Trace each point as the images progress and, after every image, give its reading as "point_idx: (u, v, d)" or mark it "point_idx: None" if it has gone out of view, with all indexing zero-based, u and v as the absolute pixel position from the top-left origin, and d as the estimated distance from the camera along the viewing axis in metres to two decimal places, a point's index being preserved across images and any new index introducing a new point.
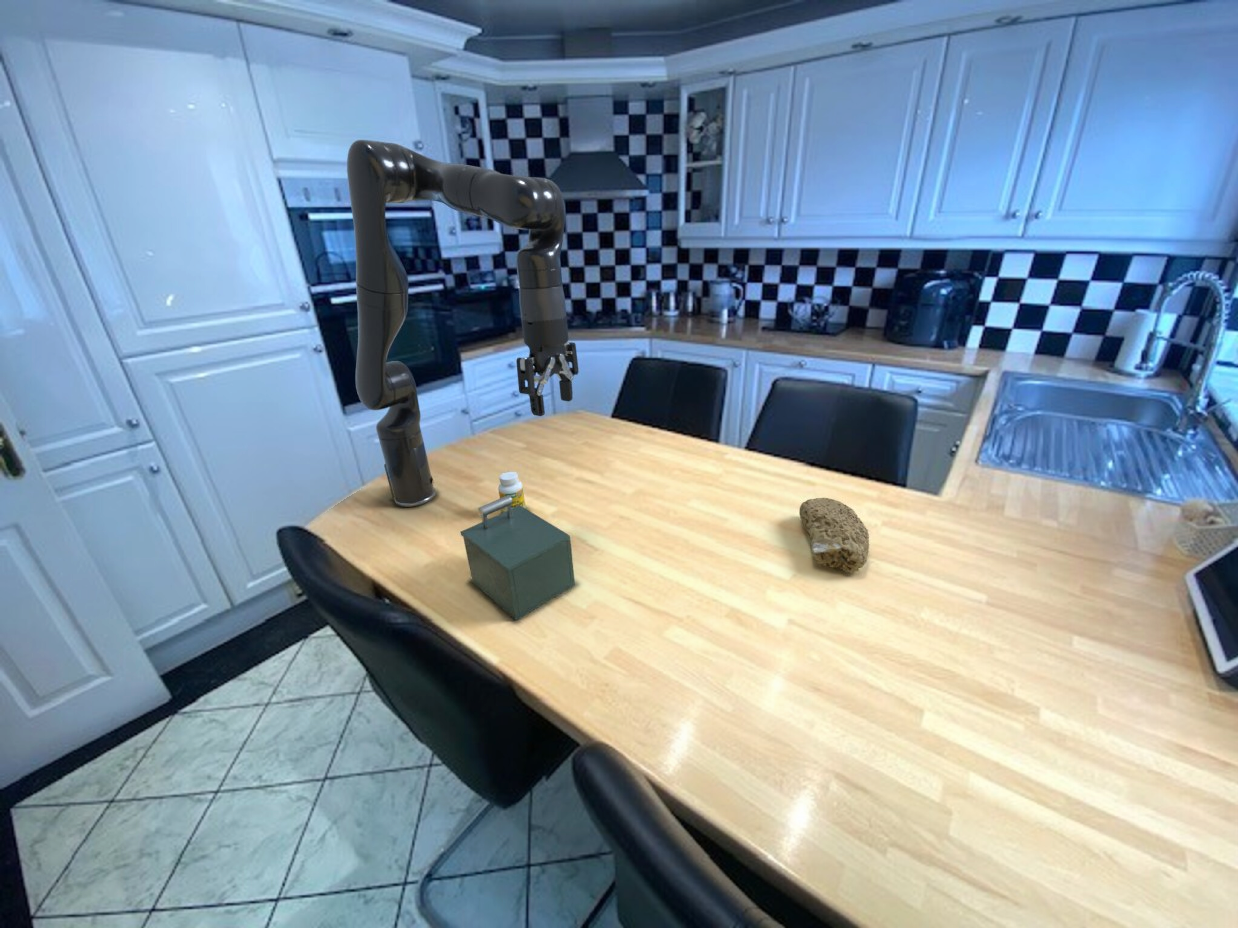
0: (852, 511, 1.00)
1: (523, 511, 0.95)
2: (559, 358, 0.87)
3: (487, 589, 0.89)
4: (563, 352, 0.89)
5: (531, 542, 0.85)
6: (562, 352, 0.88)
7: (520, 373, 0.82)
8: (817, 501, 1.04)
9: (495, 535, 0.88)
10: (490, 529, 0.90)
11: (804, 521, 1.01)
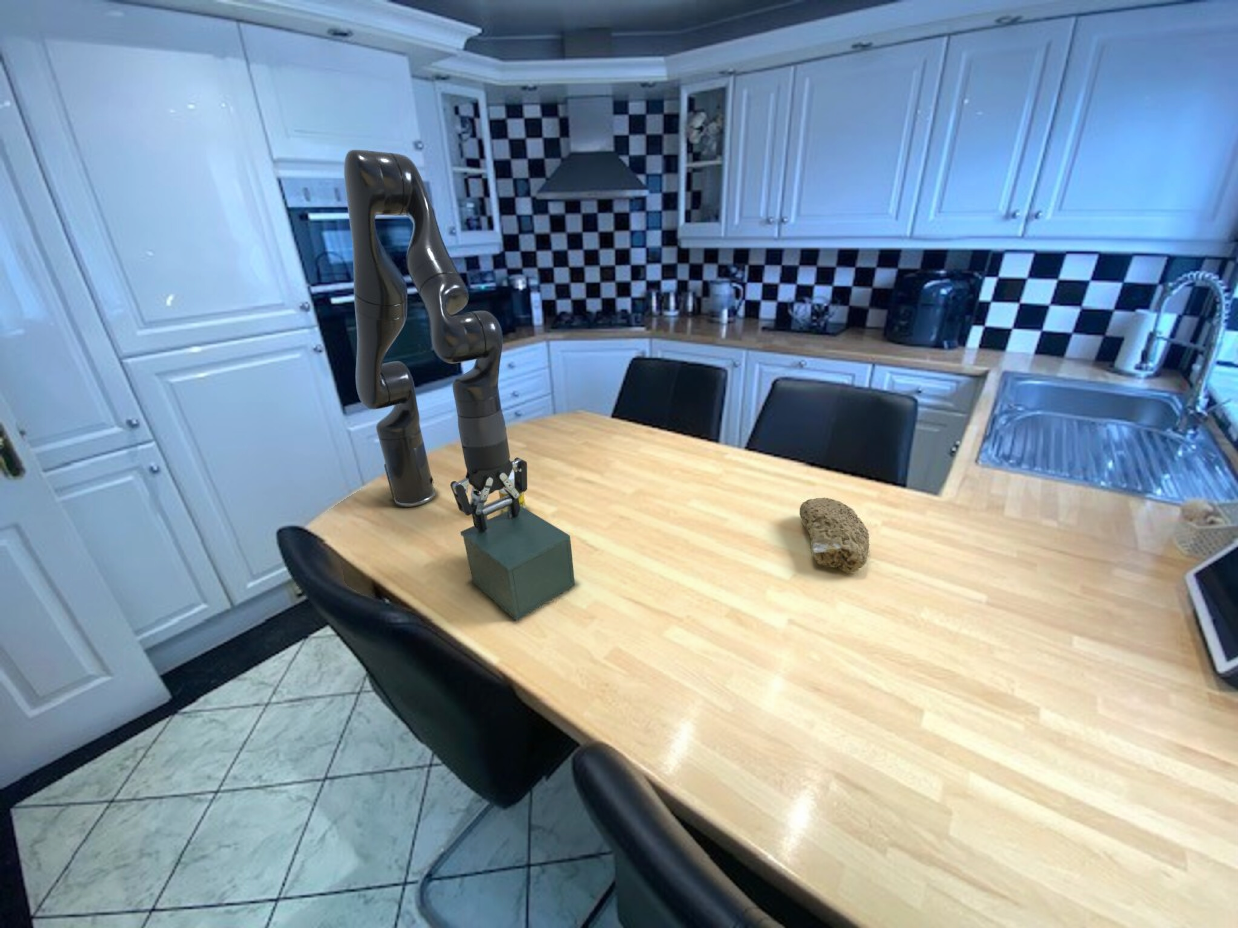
0: (852, 511, 1.00)
1: (523, 511, 0.95)
2: (499, 477, 0.87)
3: (487, 589, 0.89)
4: (508, 469, 0.88)
5: (531, 542, 0.85)
6: (507, 469, 0.88)
7: (455, 496, 0.84)
8: (817, 501, 1.04)
9: (495, 535, 0.88)
10: (490, 529, 0.90)
11: (804, 521, 1.01)
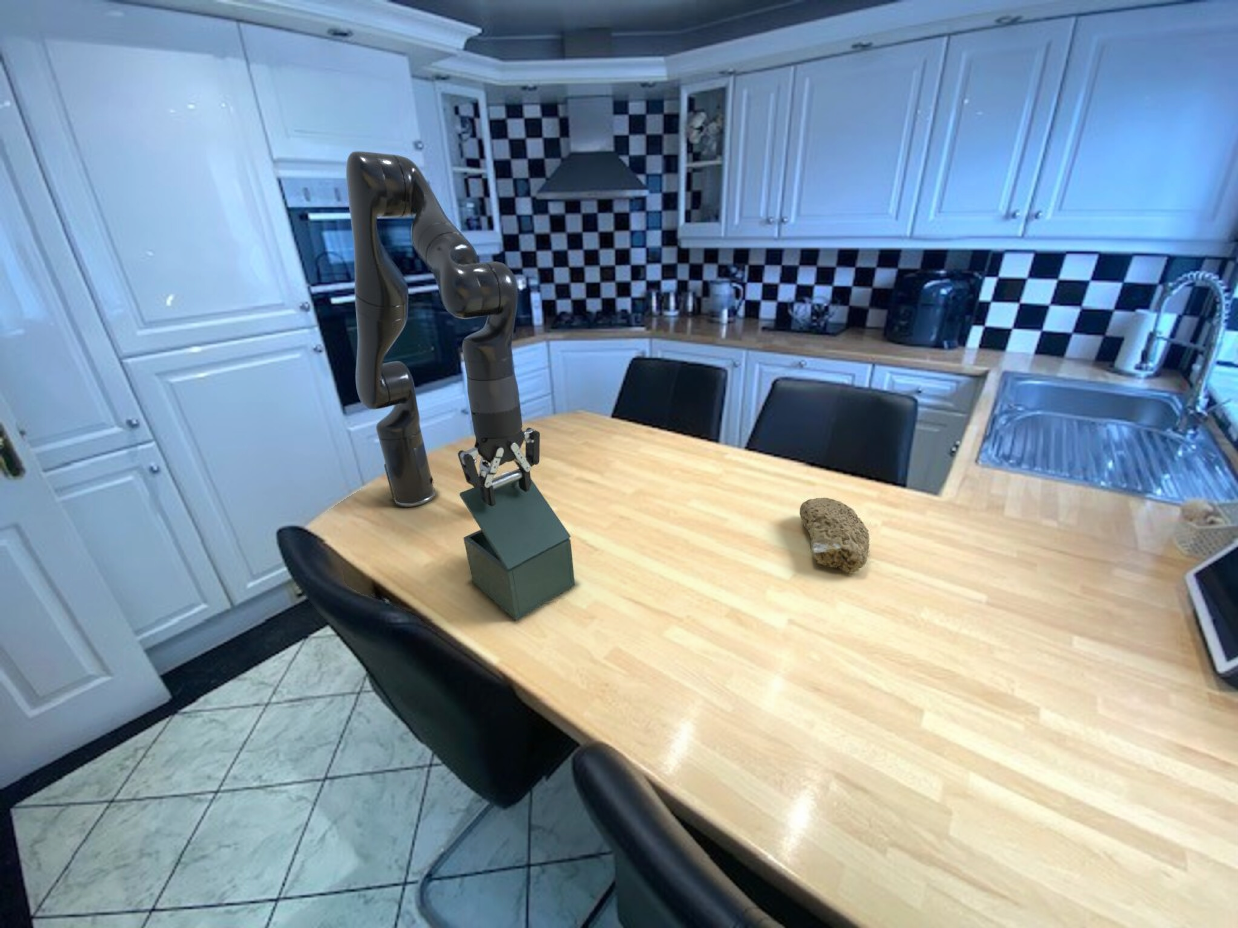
0: (852, 511, 1.00)
1: None
2: (511, 447, 0.80)
3: (487, 589, 0.89)
4: (520, 439, 0.82)
5: (533, 535, 0.84)
6: (518, 439, 0.82)
7: (463, 466, 0.78)
8: (817, 501, 1.04)
9: (497, 511, 0.84)
10: None
11: (804, 521, 1.01)
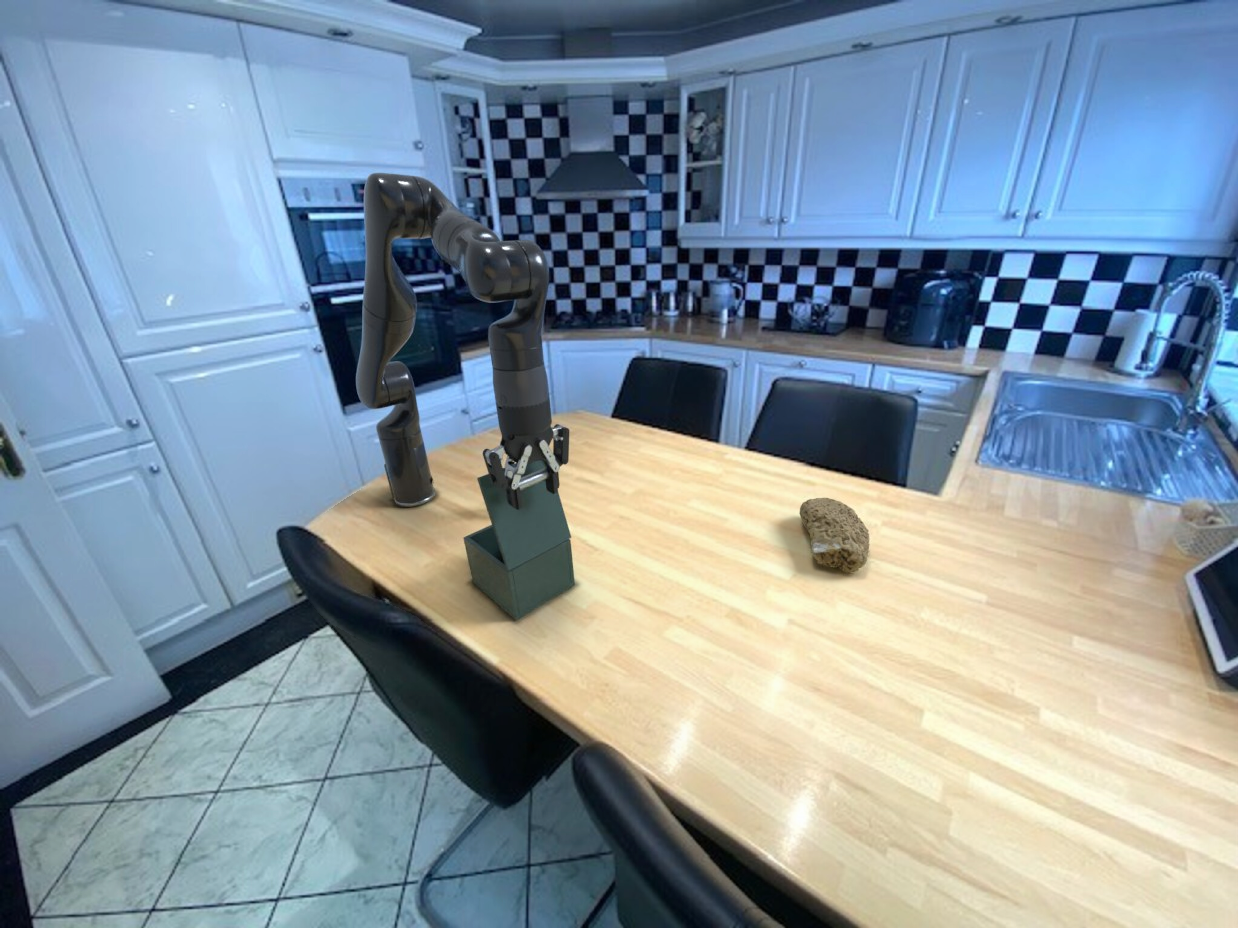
0: (852, 511, 1.00)
1: None
2: (539, 445, 0.73)
3: (487, 589, 0.89)
4: (549, 436, 0.75)
5: (538, 534, 0.82)
6: (547, 436, 0.75)
7: (488, 466, 0.71)
8: (817, 501, 1.04)
9: None
10: None
11: (804, 521, 1.01)
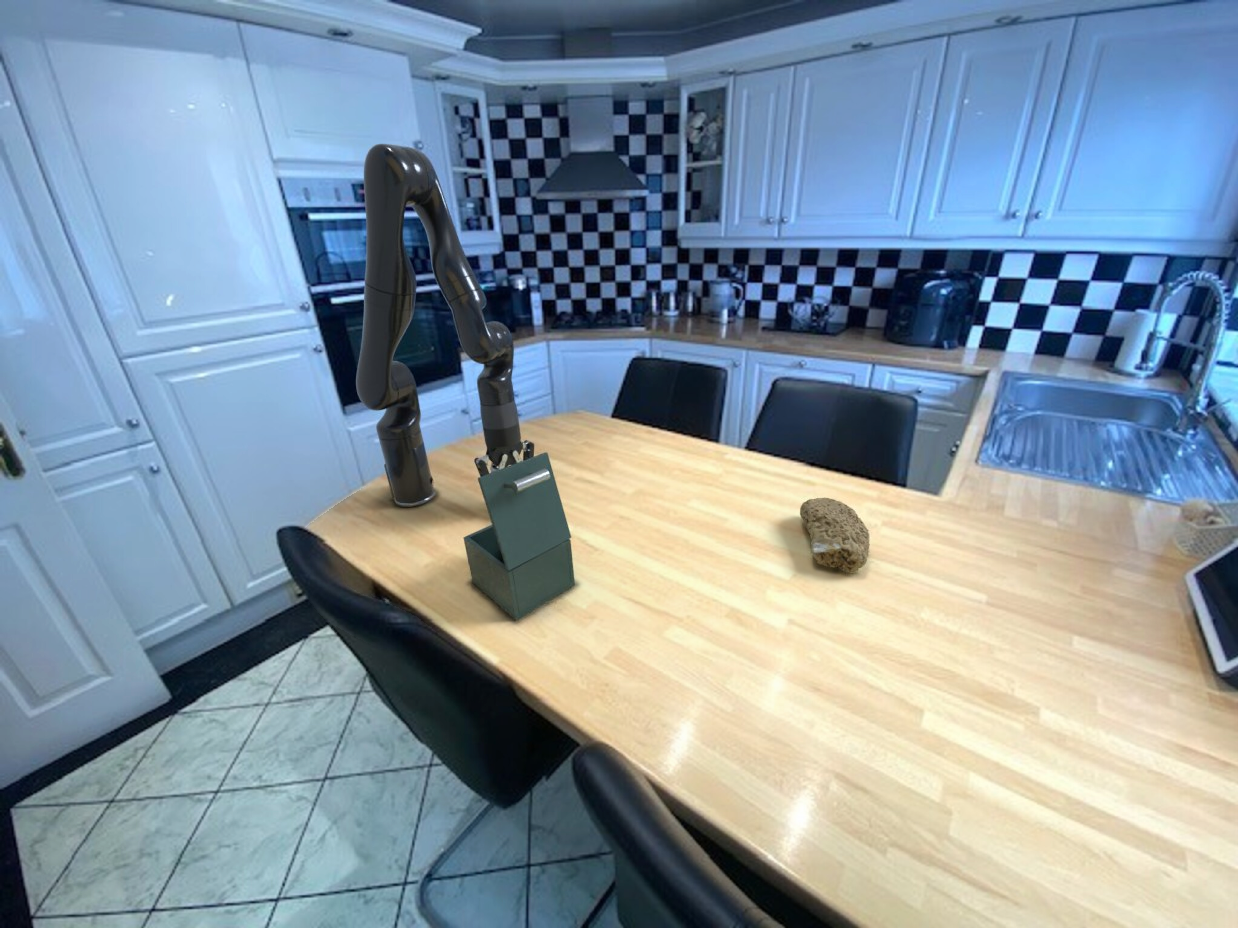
0: (853, 511, 1.00)
1: (547, 469, 0.83)
2: (512, 454, 1.08)
3: (487, 589, 0.89)
4: (519, 448, 1.10)
5: (538, 534, 0.82)
6: (518, 448, 1.10)
7: (478, 469, 1.06)
8: (817, 501, 1.04)
9: (511, 504, 0.79)
10: (509, 489, 0.79)
11: (804, 521, 1.01)
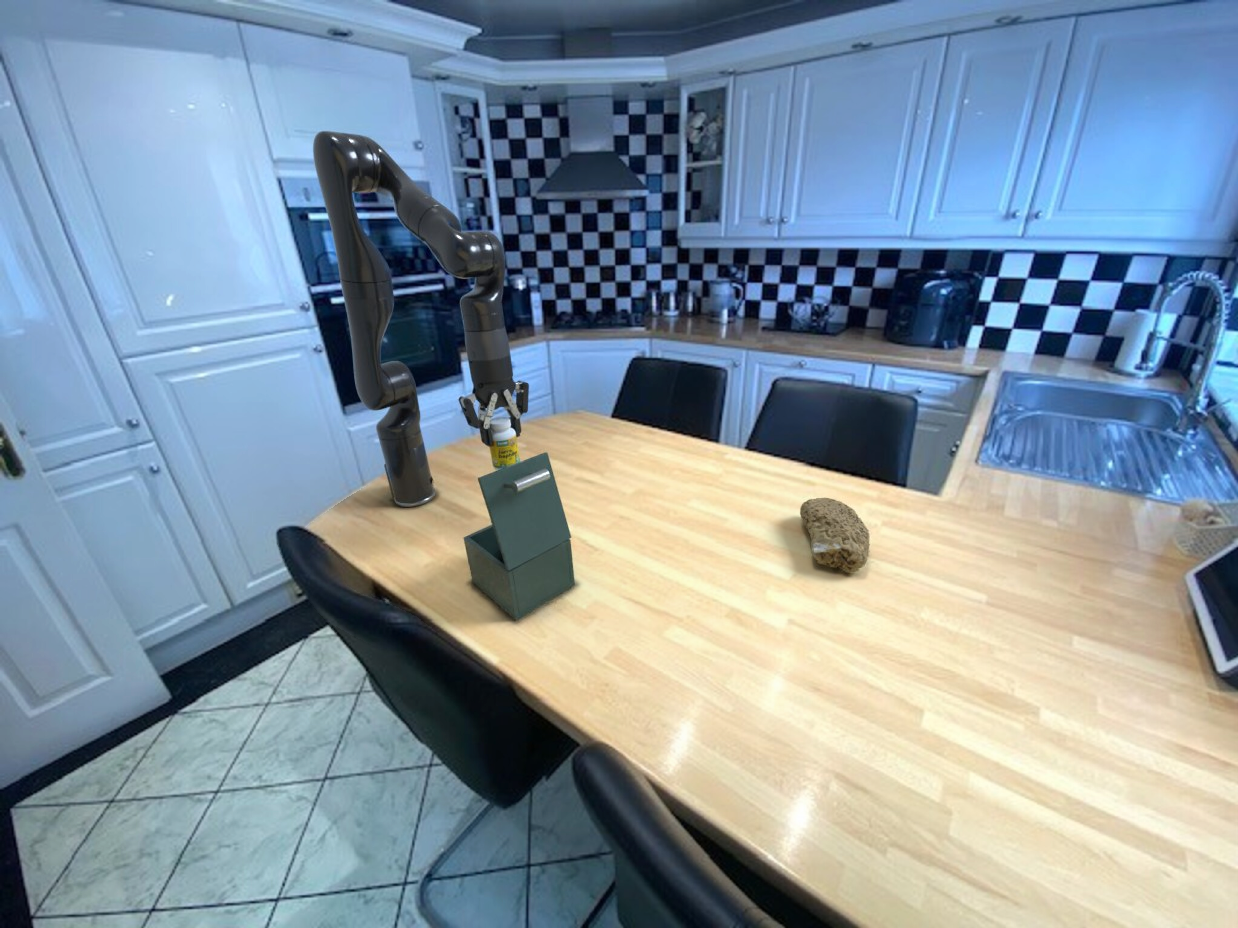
0: (853, 511, 1.00)
1: (547, 469, 0.83)
2: (503, 393, 0.93)
3: (487, 589, 0.89)
4: (512, 387, 0.95)
5: (538, 534, 0.82)
6: (510, 387, 0.95)
7: (464, 410, 0.91)
8: (817, 501, 1.04)
9: (511, 504, 0.79)
10: (509, 489, 0.79)
11: (805, 521, 1.01)
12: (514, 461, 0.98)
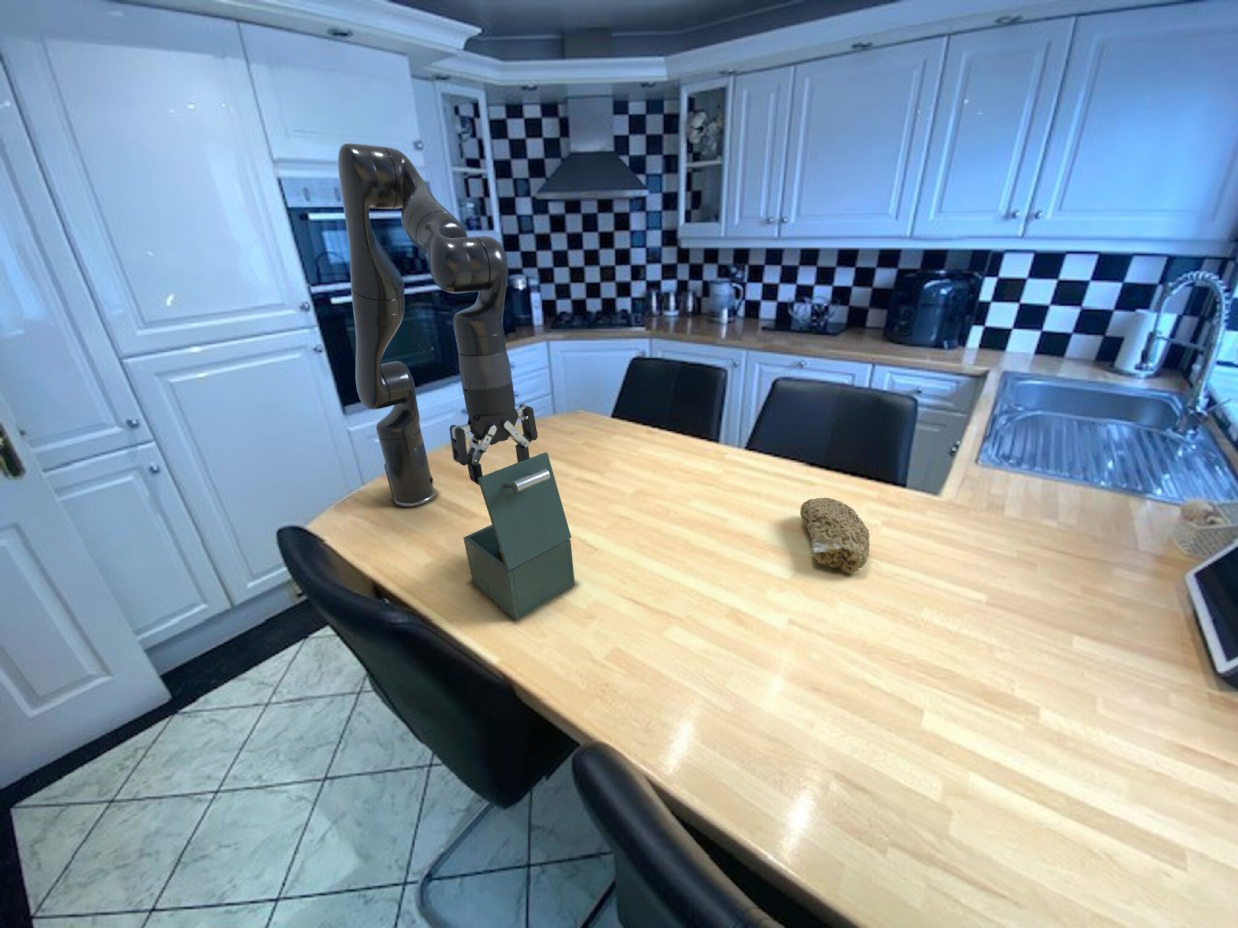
0: (853, 511, 1.00)
1: (547, 469, 0.83)
2: (504, 426, 0.80)
3: (487, 589, 0.89)
4: (513, 418, 0.81)
5: (538, 534, 0.82)
6: (512, 418, 0.81)
7: (453, 441, 0.77)
8: (818, 501, 1.04)
9: (511, 504, 0.79)
10: (509, 489, 0.79)
11: (805, 521, 1.01)
12: None
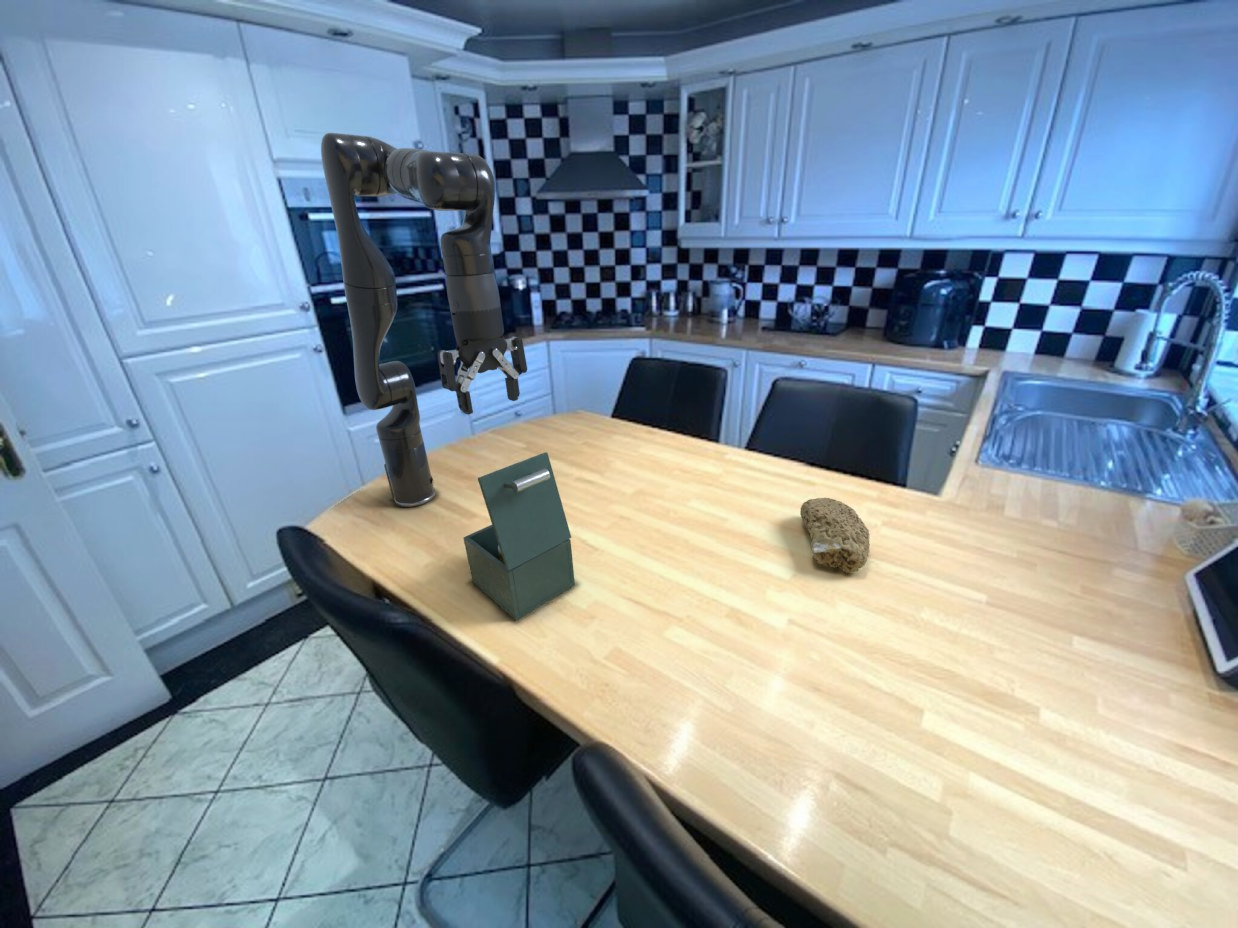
0: (853, 511, 1.00)
1: (547, 469, 0.83)
2: (493, 353, 0.79)
3: (487, 589, 0.89)
4: (502, 347, 0.81)
5: (538, 534, 0.82)
6: (501, 347, 0.81)
7: (441, 367, 0.77)
8: (818, 501, 1.04)
9: (511, 504, 0.79)
10: (509, 489, 0.79)
11: (805, 521, 1.01)
12: None
